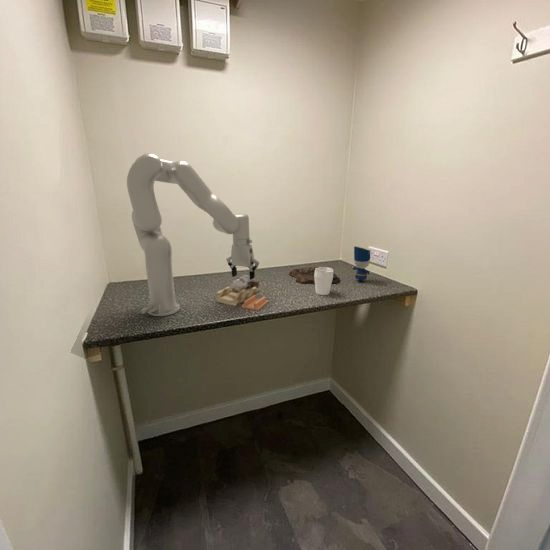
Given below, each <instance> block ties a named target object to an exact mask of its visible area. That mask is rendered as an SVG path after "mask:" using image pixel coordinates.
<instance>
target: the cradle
mask: <svg viewBox="0 0 550 550" xmlns="http://www.w3.org/2000/svg"><path fill="white" fill-rule="evenodd" d="M269 301H270V300H268V299H267V296H265V295H264V296H262V297H261V298H258V296H257V294H253V295H252V296H250V297H249V298H247V299H246V300H244V301H243V304H241V308H243V309H247V310H251V311H255V312H259V311H260V310H261V309H263V308H264V307H265V306H266V305H267V304H269Z"/></svg>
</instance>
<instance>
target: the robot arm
mask: <svg viewBox="0 0 550 550" xmlns="http://www.w3.org/2000/svg"><path fill="white" fill-rule="evenodd" d="M155 182H160V183H164V184H165V183H167V184H175V185H177V186H178V187H179V188H180V189H181V190H182V191H183V192H184V193H185V194H186V196H187V197H188V198H189V199H190V200H191V202H192V203H193V204H194V205H195V206H197V207H198V208H199V209H201V210H203V212H205V213H207V214H208V215H209V216H210V217H211V218H213V220H212V225H213V228H214V229H215V230H217V231H218V232H221V233H224V234H226V235H232V246H231V253H230V254H231V255H230V256H229V257H227V258H225V259H226V262H227V265H228V266H229V269H231V277H232V278H234V277H236V276H238V272H237V271H238V270H237V267H241V268H242V267H243V268H248V269H249V274H248V275H249V276H250V280H254V279H255V277H256V276H255V270H256V269H257V268H258V267H259V265H260V262H259V260H257V259H256V258H255V255H254V250H253V245H252V243H253V240H252V239H251V238H250V220H249V219H250V218H249V215H248V214H246V213H235V214H234V213H233V212H232V211H231V210H230V207H228V206H227V204H225V203H224V202H223V201H222V200H221V199H220V198H219V197H218V196H217V195H216V194H215V193H214V192H213V191H212V190H211V189H210V188H209V186H208V185H207V184H206V183H205V181H204V180H203V179H202V177H200V175H199V174H198V173H197V172H196V170H195V169H194V168H193V166H192V165H191V164H190V163H188V162H187V161H184V160H176V161H170V160H166V159H161V158H160V157H159V156H158V155H156V154H154V153H144V154H142V155H140V156H138V157H137V158H136V159H135V161H134V162H133V163H132V165H131V167H130V168H129V170H128V173H127V176H126V188H127V192H128V197H129V200H130V204H131V208H132V212H131V220H132V224H133V228H134V230H135V234H136V237H137V239H138V243H139V246H140V247H141V249H142V250H143V252H144V257H145V258H144V259H145V271H146V272H145V273H146V277H147V285H148V293H149V299H150V300H149V301H150V302H148V303H147V304H148V305H147V306H146V307H143V308H141V309H140V313H141V314H146V313H147V314H148V315H150V316H152V317H166V316H170V315H173V314H176V313H177V312H178V311H180V309H181V305H180V304H179V302H178V303H177V302H176V294H175V293H176V291H175V285H174V274H173V273H174V272H173V263H172V261H173V260H172V259H173V258H172V256H173V255H172V253H173V252H172V246H171V242H170V241H169V240H168V238H167V237H166V236H164V235H163V233H162V229H161V225H162V215H161V212H160V209H159V205H158V201H157V199H156V195H155V190H154V189H155V188H154V186H155V185H154V184H155Z"/></svg>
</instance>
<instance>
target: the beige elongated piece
mask: <svg viewBox="0 0 550 550" xmlns="http://www.w3.org/2000/svg"><path fill="white" fill-rule="evenodd" d="M252 281H253V283H252V285H251V286H249V287H247V288H246V289H243V290H242V291H240V292H238V293H235V292H233V291H232V289H231V287H230V286H227V287H224V288H222V289H220V290H219V291H216V300H215V301H216V303H219V304H225V305H228V306H233V307H236V306H238V305H239V304H241V303H242V302H243V303H244V301H245V300H247V299H248V298H250V297H251V296H253V295H256V294H257V293H258V292H260V282H259V280H254V279H252Z"/></svg>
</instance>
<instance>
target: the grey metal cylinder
mask: <svg viewBox="0 0 550 550" xmlns="http://www.w3.org/2000/svg"><path fill="white" fill-rule="evenodd" d="M252 280H253V279H252ZM252 280H250V274H244V275H241V276H240V277H238V278H235V279H233V280H231V282H230V286H229V287H230V290H231V289H232V291H233V292H235V293H238V292H240V291H242V290H243V289H246V288H247V287H249V286H251V285H252V283H253V281H252Z"/></svg>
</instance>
